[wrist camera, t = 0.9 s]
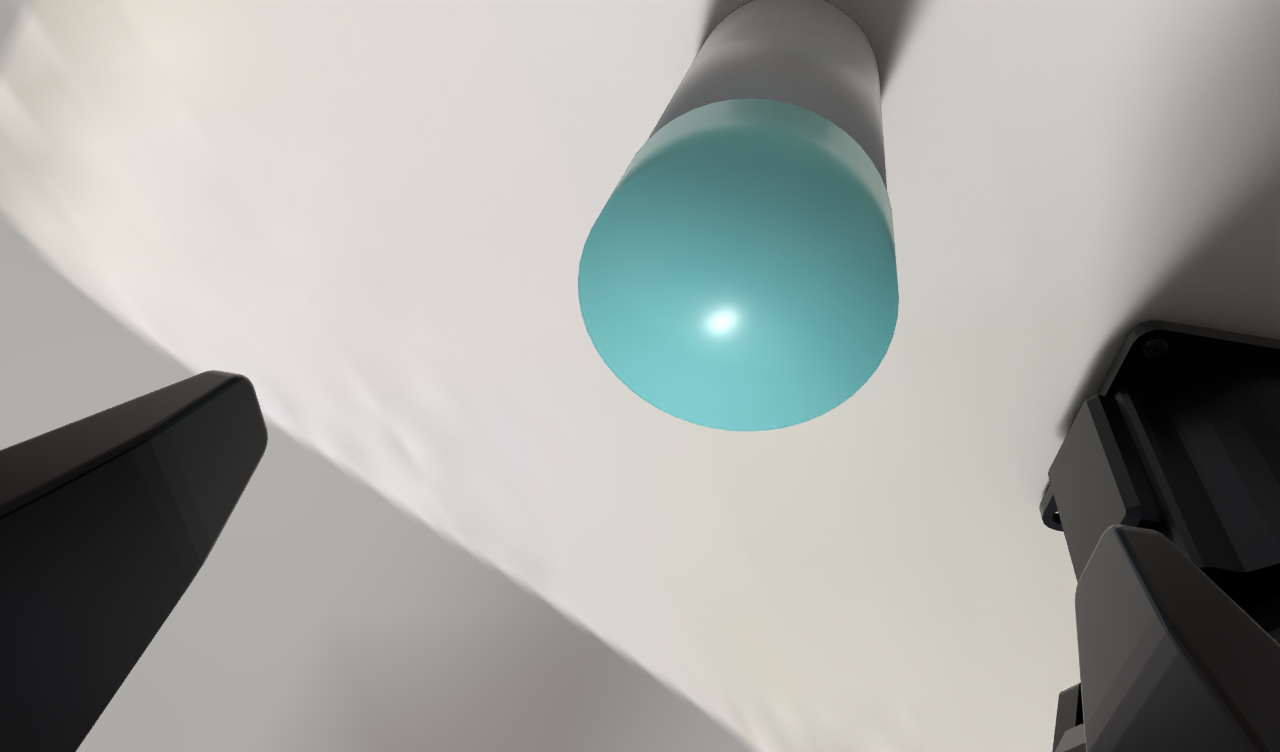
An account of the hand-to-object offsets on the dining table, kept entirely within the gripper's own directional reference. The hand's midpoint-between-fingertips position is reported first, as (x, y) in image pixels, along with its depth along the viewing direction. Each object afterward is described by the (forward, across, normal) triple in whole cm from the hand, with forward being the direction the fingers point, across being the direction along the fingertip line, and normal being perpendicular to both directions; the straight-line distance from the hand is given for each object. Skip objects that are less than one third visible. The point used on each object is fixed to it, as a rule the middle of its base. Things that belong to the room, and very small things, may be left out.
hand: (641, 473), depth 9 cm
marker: (+12, 0, 0) cm, 12 cm away
